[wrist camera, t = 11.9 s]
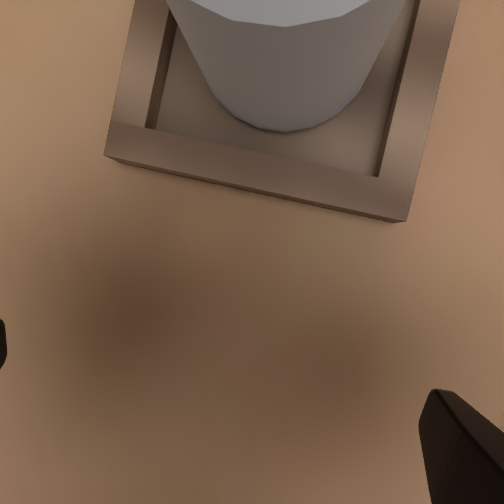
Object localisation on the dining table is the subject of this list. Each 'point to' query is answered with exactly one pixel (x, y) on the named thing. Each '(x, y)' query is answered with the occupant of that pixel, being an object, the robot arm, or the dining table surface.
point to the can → (285, 54)
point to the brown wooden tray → (276, 142)
